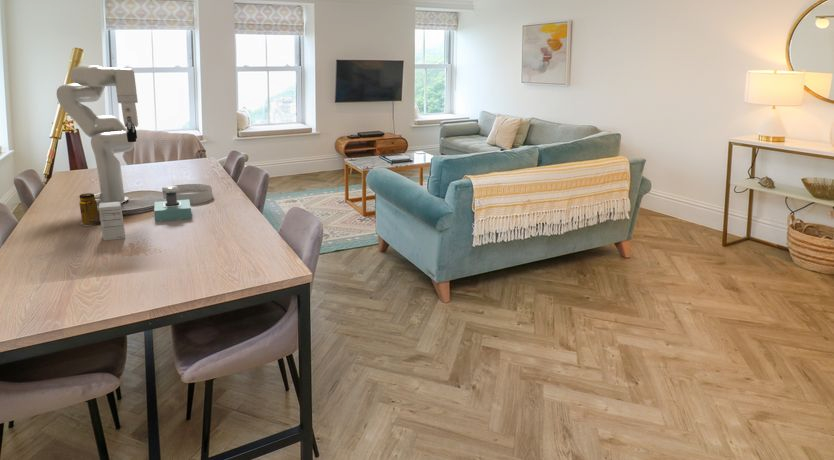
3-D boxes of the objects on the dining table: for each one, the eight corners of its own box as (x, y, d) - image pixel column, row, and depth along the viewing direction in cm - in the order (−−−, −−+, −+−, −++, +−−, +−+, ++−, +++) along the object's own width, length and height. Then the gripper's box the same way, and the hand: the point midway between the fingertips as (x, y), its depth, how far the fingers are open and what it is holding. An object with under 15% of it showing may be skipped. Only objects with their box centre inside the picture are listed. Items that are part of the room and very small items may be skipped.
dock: (155, 221, 241) (154, 210, 240) (155, 211, 255) (154, 201, 254) (191, 218, 246) (190, 207, 245) (190, 209, 260) (189, 198, 259)
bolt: (165, 217, 247) (162, 189, 243) (165, 214, 252) (162, 186, 249) (181, 216, 249) (178, 188, 245) (181, 212, 255) (178, 185, 251)
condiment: (78, 223, 237) (74, 194, 234) (100, 219, 243) (96, 191, 240) (86, 227, 233) (81, 197, 229) (108, 222, 239) (104, 193, 235)
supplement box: (103, 235, 223) (98, 202, 219) (125, 233, 226) (121, 201, 222) (102, 240, 216) (97, 207, 213) (125, 238, 219) (120, 205, 216)
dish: (197, 206, 267) (196, 195, 265) (153, 203, 271) (151, 192, 269) (221, 195, 288) (220, 185, 286) (180, 192, 291) (179, 182, 290)
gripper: (136, 100, 239) (141, 142, 244) (138, 97, 255) (142, 137, 259) (116, 101, 236) (121, 143, 241) (118, 97, 252) (123, 137, 257)
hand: (132, 140), depth 250 cm, fingers open, 9 cm apart
